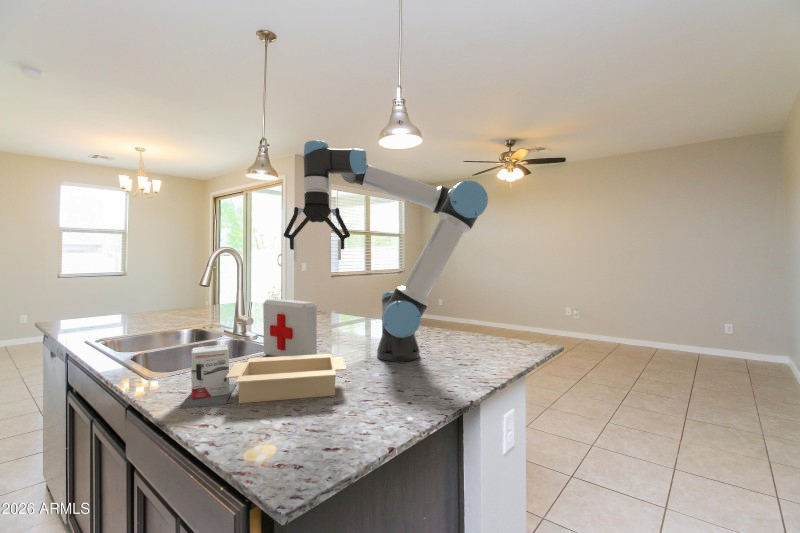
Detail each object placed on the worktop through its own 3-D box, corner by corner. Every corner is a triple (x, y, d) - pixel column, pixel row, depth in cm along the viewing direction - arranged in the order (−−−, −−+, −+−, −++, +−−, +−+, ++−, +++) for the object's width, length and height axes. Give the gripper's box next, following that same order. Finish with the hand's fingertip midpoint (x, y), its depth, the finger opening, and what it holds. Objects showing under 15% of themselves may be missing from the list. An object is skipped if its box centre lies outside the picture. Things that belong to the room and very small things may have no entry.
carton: (341, 374, 114) (341, 352, 114) (348, 399, 94) (348, 373, 94) (238, 381, 107) (238, 358, 107) (222, 410, 87) (221, 382, 87)
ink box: (191, 400, 92) (190, 352, 91) (191, 393, 96) (191, 347, 96) (229, 394, 96) (229, 348, 95) (228, 388, 100) (227, 344, 100)
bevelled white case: (259, 356, 133) (258, 300, 133) (277, 351, 140) (277, 298, 140) (301, 365, 122) (301, 304, 122) (318, 360, 129) (318, 302, 128)
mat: (236, 385, 104) (236, 383, 104) (226, 404, 91) (225, 401, 91) (196, 388, 101) (196, 386, 101) (180, 407, 89) (180, 405, 89)
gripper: (354, 195, 124) (355, 259, 125) (275, 193, 118) (277, 260, 119) (358, 191, 117) (358, 259, 118) (273, 189, 111) (275, 260, 112)
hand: (317, 260), depth 118 cm, fingers open, 13 cm apart
